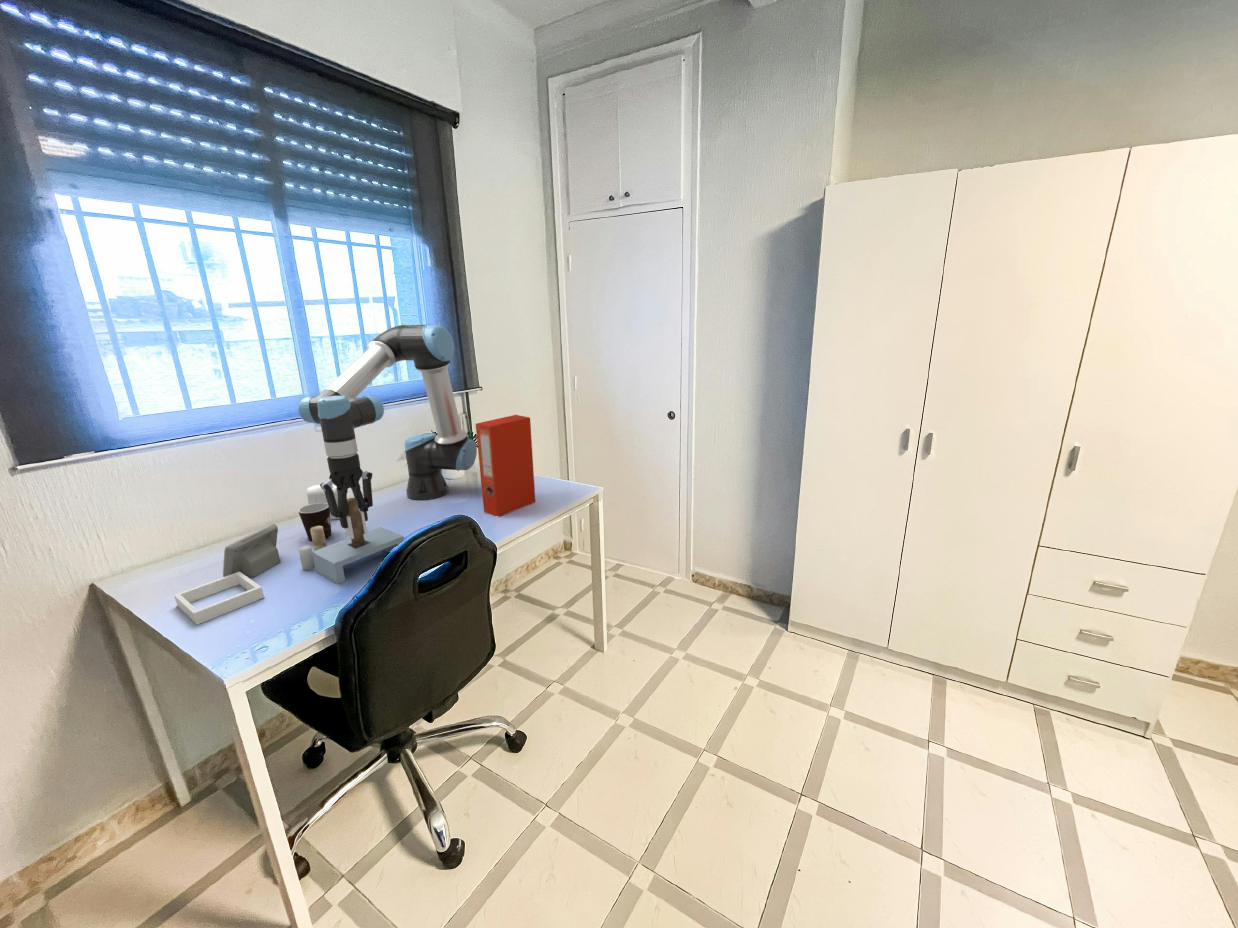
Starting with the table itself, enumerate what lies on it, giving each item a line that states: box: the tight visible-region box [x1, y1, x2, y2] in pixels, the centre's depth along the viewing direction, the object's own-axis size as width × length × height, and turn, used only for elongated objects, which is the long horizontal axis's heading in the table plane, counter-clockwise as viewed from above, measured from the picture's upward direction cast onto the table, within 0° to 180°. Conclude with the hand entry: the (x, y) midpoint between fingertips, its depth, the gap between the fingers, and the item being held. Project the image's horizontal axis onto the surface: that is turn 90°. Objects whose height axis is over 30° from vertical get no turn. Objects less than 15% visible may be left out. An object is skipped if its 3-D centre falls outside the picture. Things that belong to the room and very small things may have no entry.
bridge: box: [312, 526, 405, 585], centre depth 146 cm, size 20×12×6 cm, turn 144°
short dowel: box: [297, 545, 315, 571], centre depth 144 cm, size 3×3×6 cm
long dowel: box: [347, 497, 365, 549], centre depth 144 cm, size 3×3×15 cm
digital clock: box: [222, 523, 281, 578], centre depth 144 cm, size 16×9×11 cm, turn 157°
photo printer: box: [306, 484, 340, 520], centre depth 177 cm, size 10×4×12 cm, turn 98°
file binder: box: [475, 414, 536, 517], centre depth 181 cm, size 8×17×32 cm, turn 141°
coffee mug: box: [297, 503, 332, 542], centre depth 164 cm, size 12×9×10 cm
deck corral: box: [173, 572, 265, 625], centre depth 129 cm, size 14×14×3 cm
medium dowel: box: [310, 526, 328, 551], centre depth 150 cm, size 3×3×9 cm
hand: (357, 534), depth 145 cm, fingers closed on long dowel, 3 cm apart
